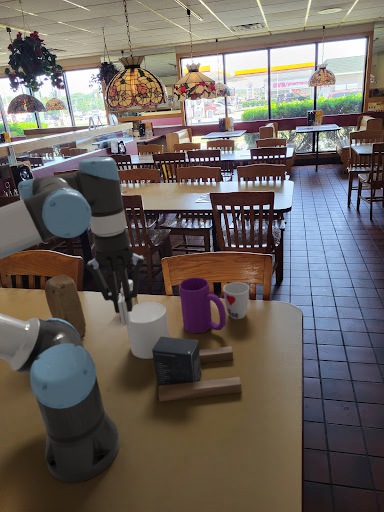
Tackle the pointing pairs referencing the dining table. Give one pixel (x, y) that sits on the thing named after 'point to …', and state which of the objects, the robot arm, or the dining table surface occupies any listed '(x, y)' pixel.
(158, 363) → the box
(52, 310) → the block
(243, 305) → the cup
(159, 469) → the dining table surface
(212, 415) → the dining table surface
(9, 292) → the dining table surface
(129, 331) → the cup
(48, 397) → the robot arm
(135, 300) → the supplement bottle
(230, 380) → the parallel wooden rails
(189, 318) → the mug
